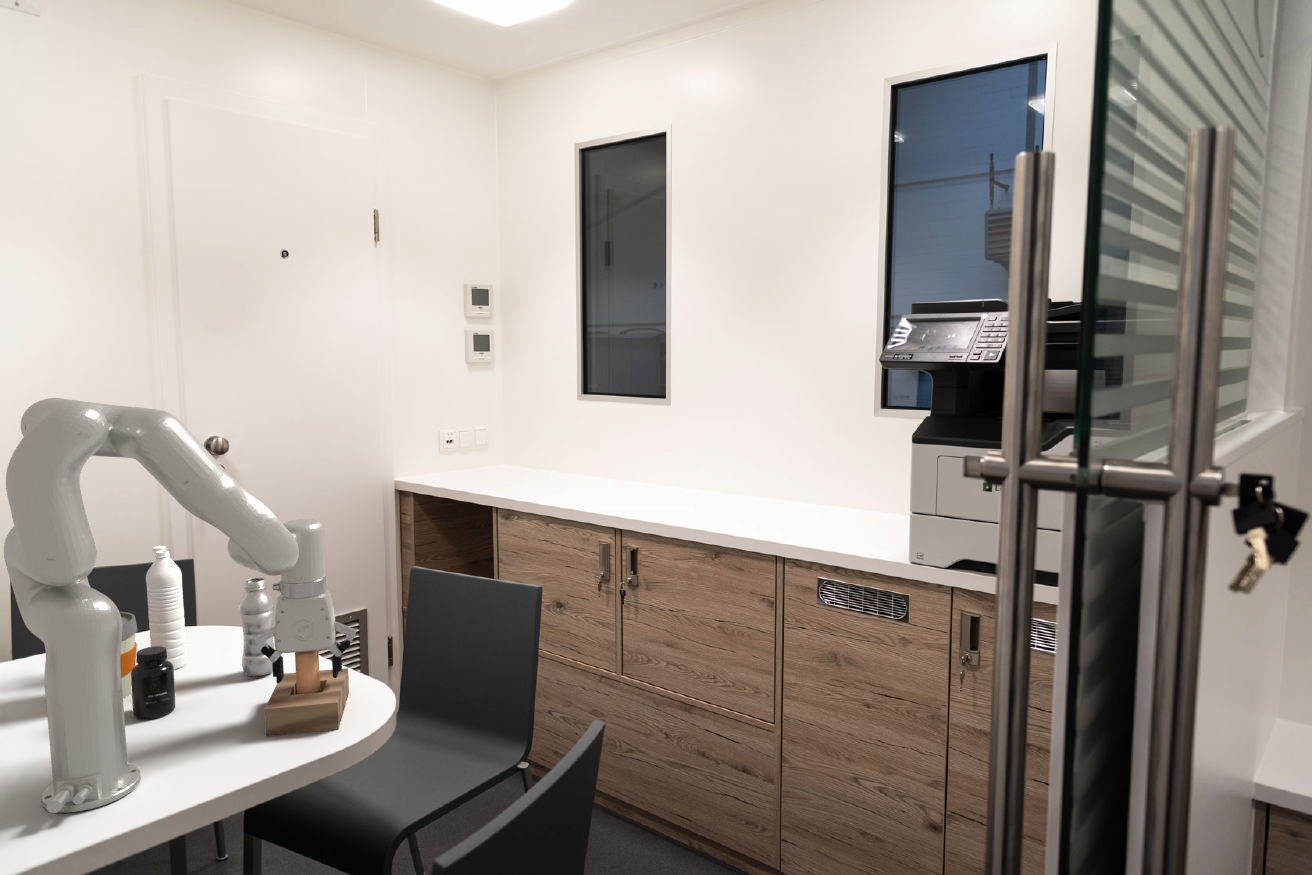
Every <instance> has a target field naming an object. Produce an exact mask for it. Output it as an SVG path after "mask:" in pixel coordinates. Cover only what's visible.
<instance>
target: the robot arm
mask: <svg viewBox="0 0 1312 875" xmlns="http://www.w3.org/2000/svg"><path fill="white" fill-rule="evenodd" d="M22 414H23V415H22V416H21V420H20V431H21V434H22V436H23V437H22V439H21V440H20V441H19V443H18V445H17V446H16V447H15V449H14V451H13V453H12V455H11V457H10V459H9V462H8V465H7V468H6V472H5V489H6V495H7V500H8V505H9V509H10V514H11V518H12V522H13V526H12V527H11V529H9V532H8V533H7V535H6V537H5V539H4V543H3V557H4V558H3V559H4V563H5V566H6V570H7V573H8V577H9V580H10V583H11V587H12V590H13V594H14V596H15V600H16V603H17V607H18V610H19V613H20V615H21V618H22V620H23V622H24V625H25V626H26V628H27V630H28V631H30V632H31V633H32V634H33V635H34V636H35V637H37V638H38V639H39V640H40V641H41V642H42V643H43V645H44V648H45V649H44V650H45V661H44V662H45V664H44V675H43V676H44V693H45V702H46V703H45V704H46V705H45V706H46V715H47V717H46V718H47V725H48V740H49V752H50V760H51V761H50V764H51V776H52V783H50V784H49V785H48V786H46V788H45V789H44V790H43V792H42V793H41V796H40V797H41V799H40V800H41V806H42V807H43V808H44V809H45V810H47V811H48V813H50V814H56V813H76V812H77V813H78V812H83V811H88V810H92V809H96V808H100V807H102V806H105V805H108V804H111V803H113V802H115V801H118V800H120V799H121V798H123V797H125V796H127V795H128V794H129V793H131V792H133V790H135V789H136V788H137V786H139V784H140V781H141V780H142V779H141V778H142V777H141V771H140V769H139V768H138V767H137V766H135V765H133V764H129V763H128V750H127V736H126V735H127V734H126V724H125V723H126V722H125V707H124V706H125V705H124V699H123V692H122V681H121V662H120V656H121V641H122V618H121V615H120V612H121V611H120V610H119V608H118V607H117V605H116V604H115V602H114V601H113V600H112V599H111V598H110V597H108V596H107V595H106V594H104V593H102V592H100V591H98V590H97V589H95V588H92V587H91V585H90V583H89V579H88V576H89V575H90V574H91V573H92V571H93V569H94V567H95V565H96V562H97V556H98V555H97V554H98V553H97V552H98V551H97V547H96V543H95V539H94V537H93V533H92V531H91V528H90V524H89V521H88V516H87V512H86V509H85V505H84V502H83V497H82V491H81V484H80V480H81V479H80V478H81V473H82V470H83V468H84V466H85V464H86V463H87V461H89V459H90V458H91V457H105V458H107V457H108V458H111V457H112V458H124V459H125V458H127V459H128V458H129V459H134V460H135V461H137V462H138V463H139V464H140V465H141V466H142V467H143V468H144V469H145V470H146V471H147V472H148V473H149V474H150V475H151V476H152V477H154V479H155V480H156V481H157V482H158V483H159V484H160V485H161V486H162V487H163V488H164V489H165V490H166V491H167V492H168V493H169V495H170V496H171V497H173V500H174V499H175V501H176V502H177V503H178V504H179V505H180V506H181V507H182V508H183V509H185V510H187V512H189V513H190V514H191V515H193V516H195V517H196V518H197V519H200V520H201V521H203V522H205V523H207V524H209V525H211V526H212V527H214V528H216V530H219V531H220V532H221V533H223V534H224V535H225V536H227V537H228V542H227V552H228V555H229V556H230V557H229V558H231V560H233V562H235V563H236V564H238V565H239V566H241V567H244V568H247V569H250V570H254V571H256V572H259V573H261V574H264V575H266V576H270V577H271V576H272V577H273V576H274V577H275V576H280V580H279V581H278V582H273V583H272V591H277V592H279V593H280V595H279V596H278V597H277V599H276V603H275V609H274V610H275V612H274V626H272V628H271V629H270V630H268V631H266V632H264V633H262V634H260V635H259V636H257V637H256V639H255V643H256V644H257V646H258V647H259V649H260V650H261V653H262V654H264V655H265V656H266V657H268V658H269V659H270V661H271V662H272V668H273V672H272V677H273V678H276V679H275V680H276V681H275V682H276V683H280V682H281V681H282V679H283V677H284V674H285V672H284V670H285V668H284V656H282V654H287V653H288V654H293V653H294V654H295V652H307V651H318V652H319V651H325V650H328V651H330V652H331V653H332V657H331V670H332V672H333V677H334V678H337V676H338V673H339V671H342V669H343V661H342V660H343V658H342V657H343V656H342V654H344V652H346V651H347V649H349V647H351V644H352V642H353V640H354V638H355V636H356V634H357V628H354V627H351V626H349V625H346V624H344V623H342V622H339V621H336V613H335V608H334V602H333V597H332V594H331V592H330V591H329V590H327V575H326V573H327V572H326V553H325V551H326V550H325V548H326V547H325V529H324V525H323V524H322V522H321V521H320V520H317V519H311V518H302V519H294V520H293V519H292V520H289V521H286V522H282V521H281V520H280V519H279V518H278V517H277V515H275V513H274V512H272V510H270V509H269V508H268V507H267V506H266V505H265V504H264V503H263V502H262V501H261V500H259V498H257V497H256V496H255V495H254V494H252V493H251V492H250V491H249V490H247V488H246V487H244V485H243V484H241V483H240V482H239V481H238V480H236V479H235V478H234V477H233V476H232V475H230V473H228V472H227V470H226V469H225V468H224V467H223V466H222V465H221V464H220V463H219V462H218V461H217V460H216V458H215V457H214V456H213V455H212V454H211V453H210V451H208V450H207V449H206V448H205V446H204V445H203V444H202V443H201V442H200V441H199V440H198V439H197V437H196V436H195V435H194V434H193V433H192V431H191V430H189V428H188V427H187V426H186V425H185V424H184V423H183V422H182V421H181V420H180V419H179V418H178V417H177V416H175V415H173V414H172V413H170V412H169V411H165V410H162V409H155V408H148V407H139V406H138V407H137V406H127V405H125V406H124V405H114V404H107V403H106V404H104V403H97V402H89V401H83V400H82V401H81V400H76V399H69V398H62V397H61V398H59V397H50V398H44V399H42V400H41V399H40V400H39V401H36V402H34V403H32V405H30V406H29V407H28V408H27V409H26V410H25V411H24V413H22ZM337 632H338V633H339V634H340V633H341V634H343V635H345V636H346V637H345V639H344V640H343V641H342V642H341V643H340V642H339V641H337V639H336V637H337ZM271 637H274V639H273V643H274V649H275V650H274V649H273V648H272V647H270V646H269V645H268V644H267V642H266V640H267V639H269V638H271Z"/></svg>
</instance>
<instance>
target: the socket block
mask: <svg viewBox="0 0 1312 875" xmlns="http://www.w3.org/2000/svg"><path fill="white" fill-rule="evenodd" d="M319 674H320V692H319V693H308V694H297V686H296V672H289V673H288V672H287V673H285V672H284V677H283V679H282V681H281V682H280V683H277V682H276V683H277V684H276V686H275V687H274V689H273V690H272V694H271V695H270V698H269V699H268V701H267V703H266V705H265V707H264V709H263V710H264V726H265V727H264V729H265V737H274V736H285V735H293V734H294V735H295V734H303V733H314V731H316V732H324V731H333V730H332V729H336V730H339V729H340V726H341V723H342V720H343V719H342V718H343V715H344V711H345V709H346V704H347V702H346V701H348V698H349V695H350V682H349V676H350V675H349V668H348V667H346V668H342V671H339V673H338V676H337V678H334V677H333V672H332V669H323V670H319ZM344 708H345V709H344ZM340 722H341V723H340Z"/></svg>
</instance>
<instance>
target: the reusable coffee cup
mask: <svg viewBox="0 0 1312 875" xmlns="http://www.w3.org/2000/svg"><path fill="white" fill-rule="evenodd" d="M119 612H120V615H121V618H122V641H121V656H120V662H121V681H122V692H123V698H124V699H126V698H127V697H129V696H130V695H131V694H132V686H131V671H132V670H133V668H134V667H135V666H136V664H137V663H136V659H137V655H136V654H137V648H138V647H137V646H138V644H137V642H136V633H137V632H138V625H137V620H136V616H135V614H134V613H130V612H125V611H119ZM129 694H130V695H129ZM126 696H127V697H126ZM125 697H126V698H125Z"/></svg>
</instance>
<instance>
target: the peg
mask: <svg viewBox="0 0 1312 875" xmlns="http://www.w3.org/2000/svg"><path fill="white" fill-rule="evenodd" d="M319 653H320V652H319V651H307V652H294V659H295V660H294V661H295V663H294V664H295V673H296V686H297V694H308V693H319V692H320V674H319V671H320V660H319V659H320V658H319V657H320V656H319Z"/></svg>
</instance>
